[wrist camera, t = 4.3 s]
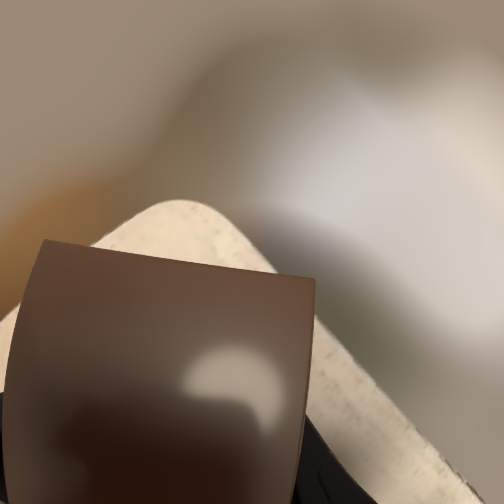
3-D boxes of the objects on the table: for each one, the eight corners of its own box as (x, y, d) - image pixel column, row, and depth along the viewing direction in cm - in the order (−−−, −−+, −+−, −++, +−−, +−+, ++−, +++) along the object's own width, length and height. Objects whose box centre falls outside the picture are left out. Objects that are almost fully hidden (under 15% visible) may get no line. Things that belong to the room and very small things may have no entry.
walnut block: (246, 456, 12) (265, 599, 1) (158, 440, 12) (8, 508, 1) (260, 357, 15) (317, 277, 4) (173, 343, 15) (43, 237, 4)
